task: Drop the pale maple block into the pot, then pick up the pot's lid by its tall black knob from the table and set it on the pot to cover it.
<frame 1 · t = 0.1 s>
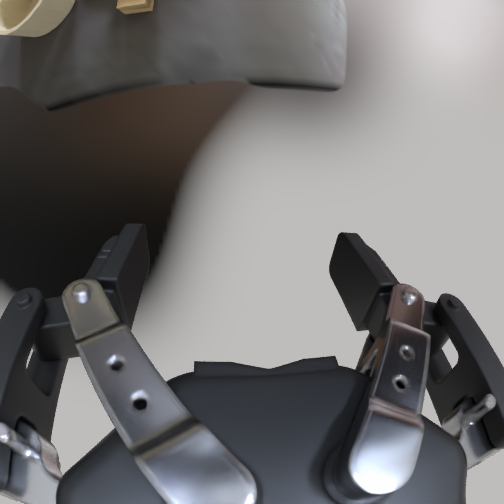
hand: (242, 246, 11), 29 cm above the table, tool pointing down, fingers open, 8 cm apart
pot: (48, 6, 18), on the table
block: (140, 1, 22), on the table
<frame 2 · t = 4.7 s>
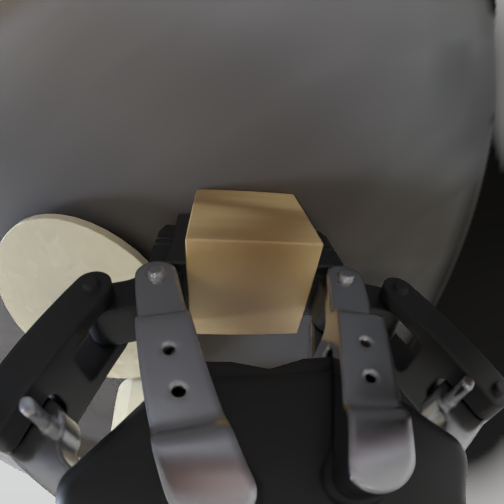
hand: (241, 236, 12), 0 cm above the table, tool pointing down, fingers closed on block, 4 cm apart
pot: (181, 404, 21), on the table
lid: (79, 312, 13), point 1 cm above the table
block: (241, 233, 12), on the table, touching gripper
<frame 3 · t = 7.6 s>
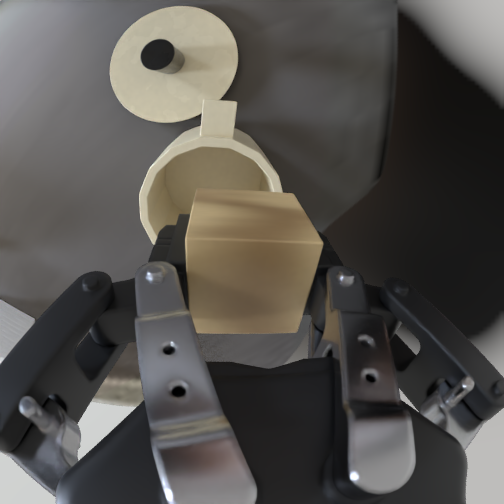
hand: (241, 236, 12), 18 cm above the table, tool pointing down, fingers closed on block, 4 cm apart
pot: (213, 177, 28), on the table
lid: (171, 62, 20), point 1 cm above the table
block: (241, 232, 12), point 17 cm above the table, touching gripper
white box: (21, 348, 42), on the table
when the fingers open (8 cm above the table, at t = 10.4 s): block drops 8 cm, resting on pot.
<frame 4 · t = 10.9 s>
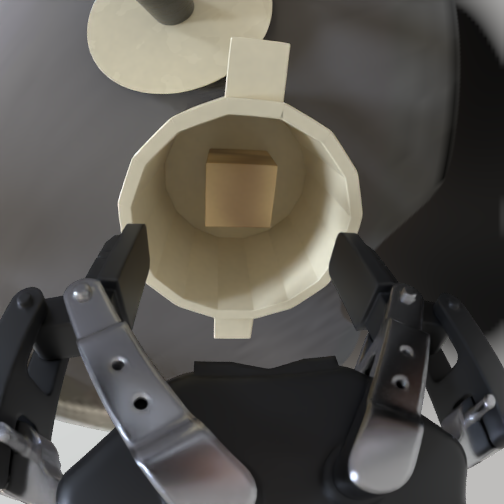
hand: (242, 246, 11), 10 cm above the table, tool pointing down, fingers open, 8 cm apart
pot: (235, 174, 19), on the table
lid: (175, 11, 12), point 1 cm above the table
block: (236, 176, 19), resting on pot
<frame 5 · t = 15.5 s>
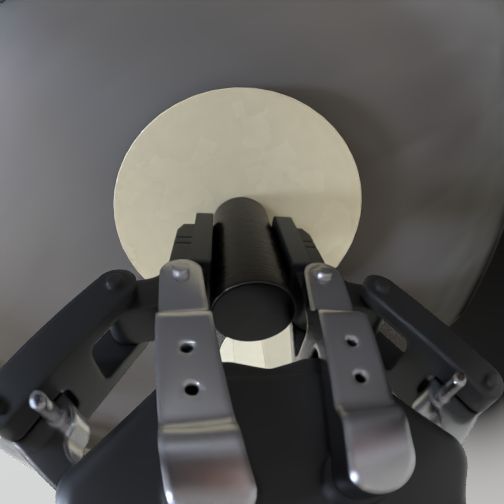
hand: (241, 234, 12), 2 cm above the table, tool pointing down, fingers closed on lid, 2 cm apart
pot: (290, 353, 21), on the table
lid: (239, 217, 13), point 1 cm above the table, touching gripper
white box: (46, 430, 36), on the table
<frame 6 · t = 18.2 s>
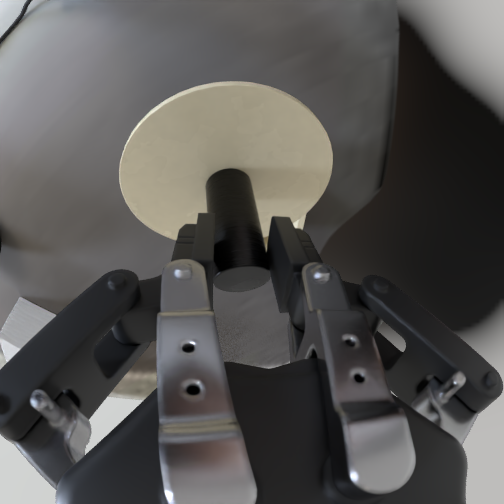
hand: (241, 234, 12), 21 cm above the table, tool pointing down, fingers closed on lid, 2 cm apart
lid: (227, 179, 16), point 17 cm above the table, tilted 24°, touching gripper
white box: (44, 347, 47), on the table
when the fingers open (12 cm above the table, at t = 21.1 s): lid stays where it is, resting on pot.
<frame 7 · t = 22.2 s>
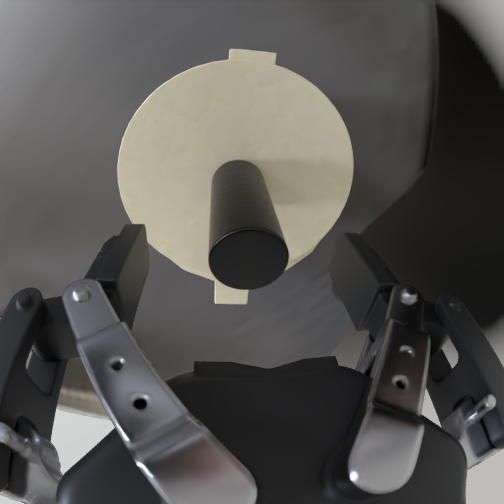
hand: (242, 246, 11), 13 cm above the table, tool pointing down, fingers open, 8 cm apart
pot: (234, 162, 22), on the table
lid: (237, 179, 14), point 9 cm above the table, tilted 6°, touching pot
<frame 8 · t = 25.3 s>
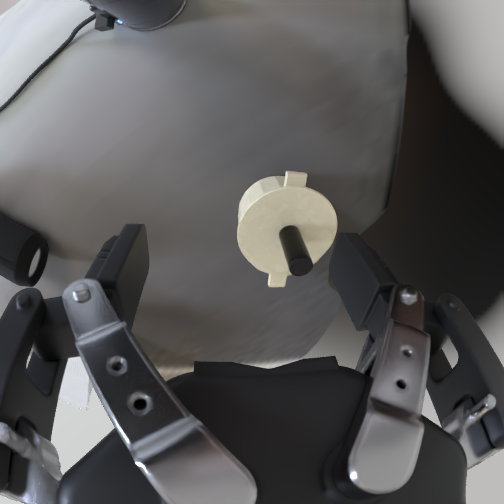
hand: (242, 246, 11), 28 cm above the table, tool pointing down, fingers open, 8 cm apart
pot: (276, 211, 41), on the table
lid: (288, 231, 33), point 9 cm above the table, tilted 5°, touching pot
portable speaker: (4, 224, 36), on the table
white box: (79, 347, 56), on the table
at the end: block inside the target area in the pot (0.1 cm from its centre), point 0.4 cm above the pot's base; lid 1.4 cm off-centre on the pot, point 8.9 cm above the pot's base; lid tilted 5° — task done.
